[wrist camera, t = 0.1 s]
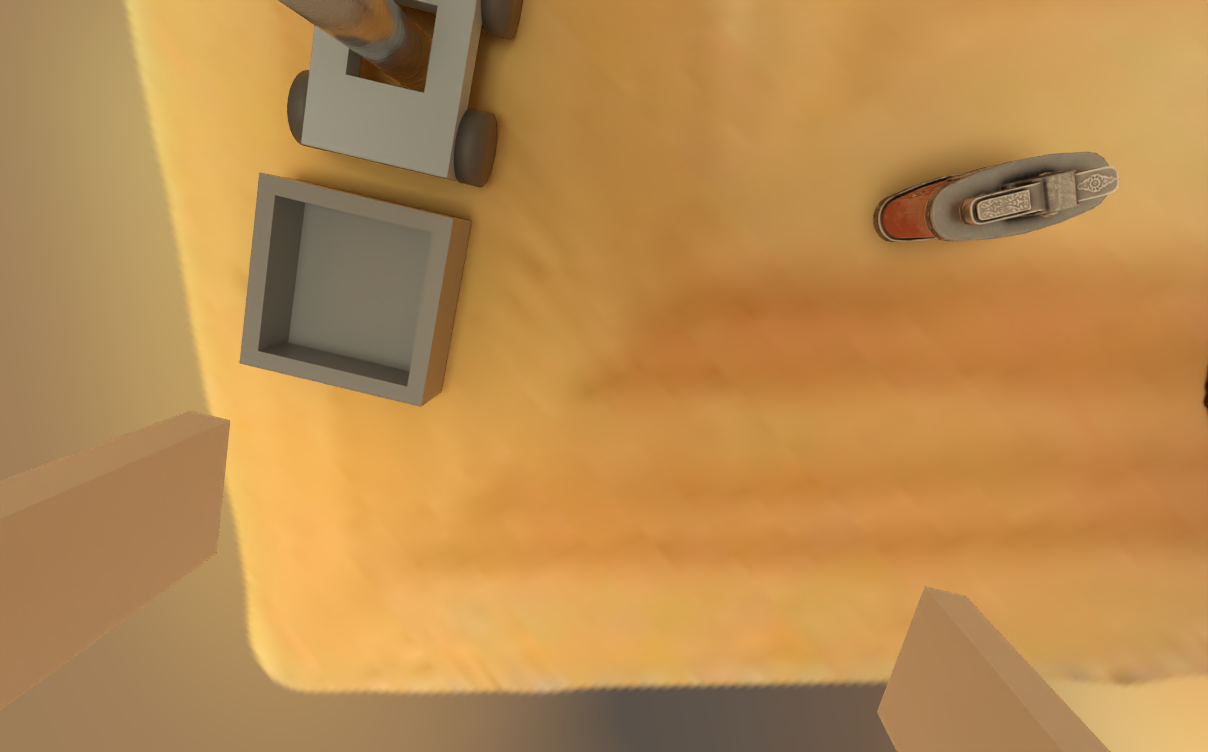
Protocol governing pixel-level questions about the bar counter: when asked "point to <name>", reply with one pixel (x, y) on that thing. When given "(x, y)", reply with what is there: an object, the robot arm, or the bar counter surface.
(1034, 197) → the lighter
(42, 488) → the robot arm
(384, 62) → the shiny grey long cylinder
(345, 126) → the trolley
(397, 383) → the tray
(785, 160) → the bar counter surface
